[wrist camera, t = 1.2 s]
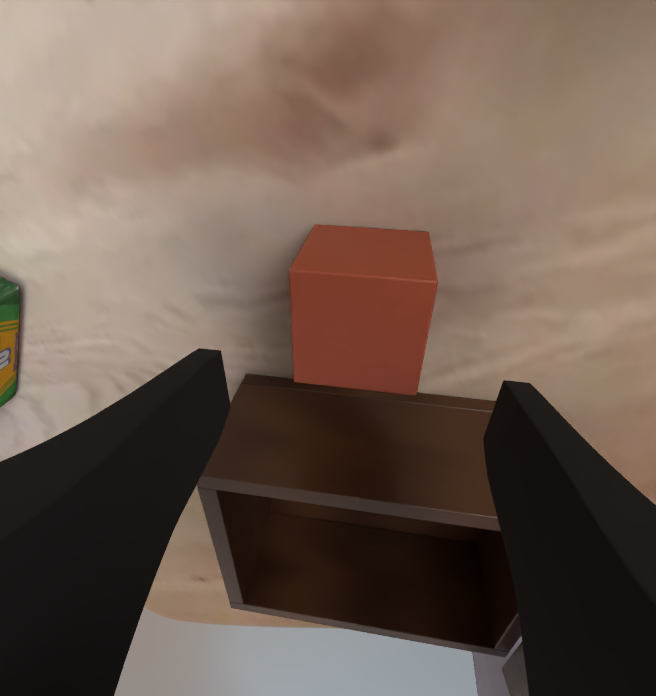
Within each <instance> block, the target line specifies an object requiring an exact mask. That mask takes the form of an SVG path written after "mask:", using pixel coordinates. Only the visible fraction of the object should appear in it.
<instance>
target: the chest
mask: <svg viewBox="0 0 656 696" xmlns="http://www.w3.org/2000/svg"><path fill="white" fill-rule="evenodd" d="M495 403H496V402H495V401H486V400H476V399H467V398H458V397H449V396H440V395H431V394H422V393H417V394H416V395H405V394H396V393H387V392H378V391H369V390H360V389H351V388H342V387H333V386H324V385H315V384H306V383H297V382H294V380H293V379H287V378H278V377H269V376H259V375H250V374H246V375H245V377H244V379H243V381H242V383H241V384H240V386H239V388H238V390H237V392H236V394H235V396H234V398H233V400H232V402H231V404H230V407H231V408H230V411H229V414H228V417H227V420H226V423H225V426H224V428H223V431H222V434H221V436H220V439H219V441H218V443H217V445H216V448H215V450H214V451H213V453H212V455H211V457H210V459H209V461H208V463H207V465H206V467H205V469H204V471H203V473H202V475H201V477H200V479H199V481H198V483H197V487H198V491H199V495H200V498H201V502H202V505H203V509H204V513H205V516H206V520H207V523H208V527H209V530H210V534H211V538H212V541H213V545H214V548H215V552H216V555H217V559H218V563H219V566H220V570H221V573H222V577H223V580H224V584H225V587H226V591H227V595H228V598H229V602H230V605H231V608H234V609H240V610H245V611H251V612H256V613H262V614H267V615H273V616H278V617H284V618H289V619H295V620H300V621H306V622H312V623H317V624H323V625H328V626H334V627H339V628H345V629H351V630H356V631H362V632H367V633H372V634H378V635H383V636H389V637H394V638H400V639H405V640H411V641H417V642H422V643H427V644H433V645H439V646H444V647H450V648H455V649H461V650H467V651H472V652H477V653H483V654H488V655H494V656H499V657H506V656H507V655H508V654H509V652H510V651H511V649H512V648H513V647H514V645H515V644H516V643H517V641H518V640H519V638H520V637H521V630H520V623H519V616H518V610H517V603H516V596H515V590H514V584H513V579H512V575H511V570H510V565H509V561H508V557H507V553H506V549H505V545H504V541H503V537H502V533H501V529H500V526H499V522H498V518H497V514H496V510H495V506H494V502H493V498H492V494H491V489H490V485H489V481H488V477H487V470H486V462H485V453H484V443H483V437H484V434H485V431H486V429H487V426H488V423H489V420H490V417H491V414H492V412H493V409H494V406H495Z"/></svg>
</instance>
